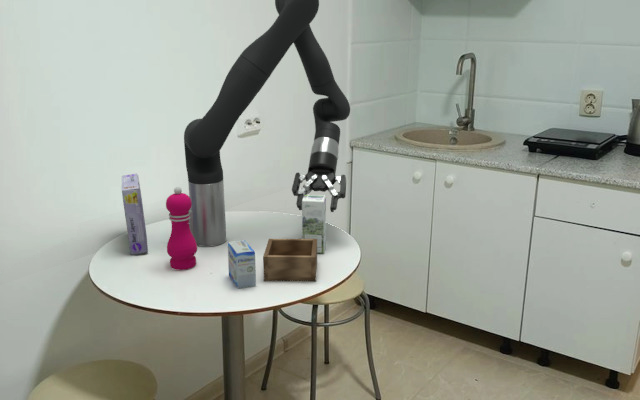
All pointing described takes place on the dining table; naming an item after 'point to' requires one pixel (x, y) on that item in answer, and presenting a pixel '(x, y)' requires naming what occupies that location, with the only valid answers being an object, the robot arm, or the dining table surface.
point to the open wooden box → (290, 260)
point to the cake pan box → (134, 214)
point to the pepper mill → (180, 232)
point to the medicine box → (241, 264)
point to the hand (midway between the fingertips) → (315, 209)
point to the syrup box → (314, 219)
